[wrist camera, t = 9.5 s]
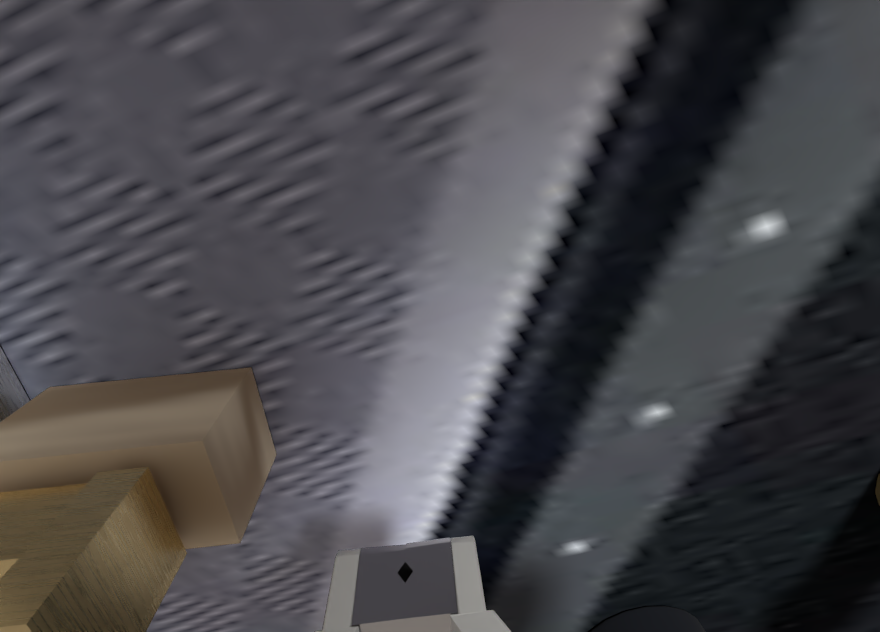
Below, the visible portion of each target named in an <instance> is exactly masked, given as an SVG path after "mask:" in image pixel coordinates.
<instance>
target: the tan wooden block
mask: <svg viewBox="0 0 880 632" xmlns="http://www.w3.org/2000/svg"><path fill="white" fill-rule="evenodd" d="M276 455H277V454H276V451H275V447H274V444H273V440H272V437H271V433H270V430H269V427H268V423H267V420H266V416H265V413H264V409H263V406H262V402H261V399H260V395H259V392H258V389H257V385H256V382H255V378H254V375H253V371H252V368H251V367H250V368H239V369H229V370H219V371H209V372H198V373H188V374H178V375H168V376H158V377H147V378H137V379H127V380H117V381H106V382H96V383H86V384H76V385H66V386H55V387H49V388H47V389H46V390H45V391H43V392H42V393H40V394H39V395H38V396H36V397H35V398H33V399H32V400H31V401H29V402H28V403H26V404H25V405H24V406H22V407H21V408H19V409H18V410H17V411H15V412H14V413H12V414H11V415H10V416H8V417H7V418H5V419H4V420H3V421H1V422H0V492H9V491H18V490H28V489H37V488H47V487H57V486H66V485H76V484H85V483H88V482H89V481H90V480H91V479H92V478H93V477H94V476H95V474H96V473H97V472H104V471H114V470H124V469H133V468H143V467H149V470H150V472H151V474H152V476H153V479H154V481H155V483H156V485H157V488H158V490H159V492H160V494H161V496H162V499H163V501H164V503H165V505H166V508H167V510H168V512H169V514H170V517H171V519H172V521H173V523H174V525H175V528H176V530H177V532H178V534H179V537H180V539H181V541H182V543H183V546H184V548H185V549H191V548H200V547H209V546H219V545H228V544H237V543H241V540H242V538H243V535H244V533H245V530H246V528H247V526H248V523H249V521H250V518H251V516H252V513H253V511H254V509H255V506H256V504H257V501H258V499H259V496H260V494H261V491H262V489H263V487H264V484H265V482H266V479H267V477H268V474H269V472H270V469H271V467H272V465H273V462H274V460H275V457H276Z"/></svg>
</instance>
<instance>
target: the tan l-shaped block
mask: <svg viewBox="0 0 880 632" xmlns="http://www.w3.org/2000/svg"><path fill="white" fill-rule="evenodd" d="M186 554H187V552H186V550H185V548H184V546H183V543H182V541H181V539H180V537H179V534H178V532H177V530H176V528H175V525H174V523H173V521H172V519H171V517H170V514H169V512H168V510H167V508H166V505H165V503H164V501H163V499H162V496H161V494H160V492H159V490H158V488H157V485H156V483H155V481H154V479H153V476H152V474H151V472H150V470H149V467H143V468H133V469H124V470H114V471H104V472H97V473H96V474H95V476H94V477H93V478H92V479H91V480H90V481H89V482H88V483H85V484H76V485H66V486H57V487H47V488H37V489H28V490H18V491H9V492H0V632H146V630H147V628H148V626H149V625H150V623H151V621H152V619H153V617H154V615H155V613H156V611H157V609H158V607H159V606H160V604H161V602H162V600H163V598H164V596H165V594H166V592H167V590H168V588H169V587H170V585H171V583H172V581H173V579H174V577H175V575H176V573H177V571H178V569H179V568H180V566H181V564H182V562H183V560H184V558H185V556H186Z"/></svg>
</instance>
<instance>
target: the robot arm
mask: <svg viewBox="0 0 880 632" xmlns="http://www.w3.org/2000/svg"><path fill="white" fill-rule="evenodd" d="M451 548H452V549H451ZM452 558H453V559H452ZM453 568H454V569H453ZM315 632H511V630H510V629H509V628H508V627H507V626H506V624H505V623H504V622H503V621H502V620H501V618H500V617H499V616H498V615H497V614H496V612H495V611H494V610H486V605H485V599H484V593H483V587H482V581H481V574H480V568H479V562H478V556H477V550H476V544H475V539H474V537H473V536H465V537H457V538H451V541H450V538H444V539H436V540H429V541H421V542H413V543H406V544H405V545H393V546H381V547H369V548H359V549H349V550H339V551H338V553H337V555H336V557H335V561H334V567H333V573H332V578H331V584H330V589H329V595H328V601H327V606H326V612H325V617H324V623H323V629H322V630H319V631H315Z"/></svg>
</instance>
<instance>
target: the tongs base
mask: <svg viewBox="0 0 880 632" xmlns="http://www.w3.org/2000/svg"><path fill="white" fill-rule="evenodd" d="M29 401H30V400H29V398H28V396H27V394H26V393H25V391H24V389H23V387H22V385H21V383H20V382H19V380H18V378H17V376H16V374H15V373H14V371H13V369H12V367H11V365H10V363H9V362H8V360H7V358H6V356H5V354H4V352H3V351H2V349H1V347H0V422H1V421H3V420H4V419H5V418H7V417H8V416H10V415H11V414H12V413H14V412H15V411H17V410H18V409H19V408H21V407H22V406H24V405H25V404H26V403H28V402H29Z"/></svg>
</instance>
